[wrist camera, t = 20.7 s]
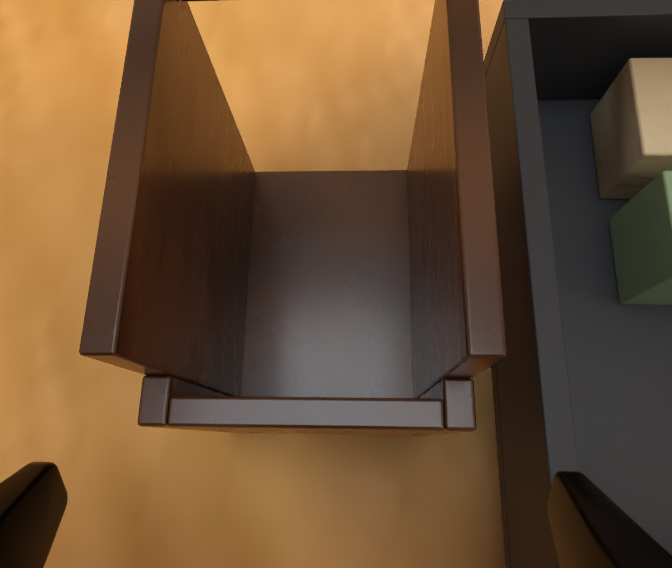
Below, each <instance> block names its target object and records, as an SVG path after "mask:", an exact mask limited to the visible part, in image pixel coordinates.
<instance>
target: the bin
mask: <svg viewBox="0 0 672 568" xmlns="http://www.w3.org/2000/svg"><path fill="white" fill-rule="evenodd" d="M630 58H672V0H504V1H503V3H502V6H501V9H500V12H499V15H498V19H497V22H496V25H495V28H494V31H493V34H492V37H491V41H490V44H489V47H488V50H487V53H486V56H485V59H484V62H483V63H484V76H485V88H486V101H487V113H488V126H489V138H490V151H491V163H492V176H493V189H494V201H495V214H496V226H497V239H498V251H499V264H500V276H501V289H502V301H503V314H504V326H505V339H506V351H507V354H506V357H505V358H504V359H502V360H500V361H498V362H497V363H495V364H493V365H492V376H493V390H494V405H495V419H496V433H497V447H498V461H499V475H500V490H501V504H502V518H503V532H504V546H505V561H506V568H560V565H559V561H558V557H557V552H556V548H555V544H554V539H553V535H552V531H551V526H550V522H549V518H548V510H547V505H548V499H549V495H550V491H551V487H552V482H553V478H554V475H555V474H556V472H558V471H578V472H581V473H583V474H584V475H585V476H586V477H587V478H589V479H590V480H591V481H592V482H593V483H594V484H595V485H596V486H597V487H598V488H599V489H600V490H602V491H603V492H604V493H605V494H606V495H607V496H608V497H609V498H610V499H611V500H612V501H613V502H614V503H616V504H617V505H618V506H619V507H620V508H621V509H622V510H623V511H624V512H625V513H626V514H627V515H629V516H630V517H631V518H632V519H633V520H634V521H635V522H636V523H637V524H638V525H639V526H640V527H642V528H643V529H644V530H645V531H646V532H647V533H648V534H649V535H650V536H651V537H652V538H653V539H654V540H656V541H657V542H658V543H659V544H660V545H661V546H662V547H663V548H664V549H665V550H666V551H667V552H669V553H670V554H671V555H672V305H646V304H621V303H620V301H619V293H618V285H617V278H616V270H615V263H614V255H613V248H612V240H611V233H610V225H609V219H610V218H611V217H612V216H613V215H615V214H616V213H617V212H618V211H619V210H620V209H621V208H622V207H623V206H624V205H626V204H627V203H628V202H629V201H630V200H631V199H601V198H600V194H599V186H598V178H597V169H596V161H595V153H594V144H593V136H592V127H591V119H590V115H591V113H592V111H593V110H594V109H595V107H596V106H597V104H598V103H599V101H600V100H601V98H602V97H603V96H604V94H605V93H606V91H607V90H608V88H609V87H610V86H611V84H612V83H613V81H614V80H615V78H616V77H617V76H618V74H619V73H620V71H621V70H622V68H623V67H624V65H625V64H626V63H627V61H628V60H629V59H630Z"/></svg>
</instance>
